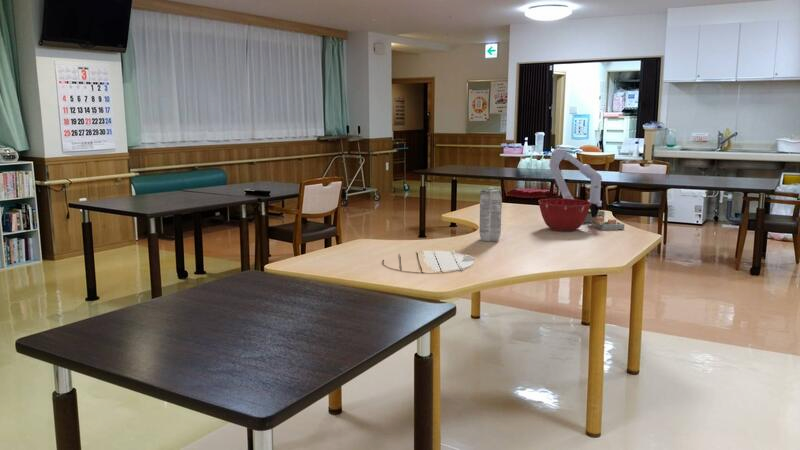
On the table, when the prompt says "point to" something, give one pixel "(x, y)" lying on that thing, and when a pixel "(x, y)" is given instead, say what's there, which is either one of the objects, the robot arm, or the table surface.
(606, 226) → the tray
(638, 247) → the table surface
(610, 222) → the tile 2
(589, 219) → the coffee box
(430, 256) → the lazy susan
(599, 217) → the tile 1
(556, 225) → the mixing bowl
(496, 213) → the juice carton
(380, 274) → the table surface
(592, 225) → the board
